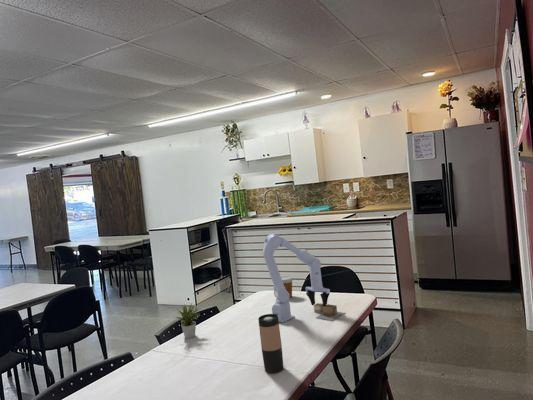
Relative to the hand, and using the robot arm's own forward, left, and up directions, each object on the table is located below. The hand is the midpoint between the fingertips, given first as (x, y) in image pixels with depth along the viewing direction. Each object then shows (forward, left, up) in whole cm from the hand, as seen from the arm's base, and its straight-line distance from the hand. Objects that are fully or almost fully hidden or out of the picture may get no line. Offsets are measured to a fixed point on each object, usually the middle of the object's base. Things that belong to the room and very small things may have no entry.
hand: (319, 305), depth 209 cm
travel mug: (-61, -23, -4) cm, 65 cm away
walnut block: (-3, -9, -3) cm, 10 cm away
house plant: (-57, +37, -4) cm, 68 cm away
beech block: (0, 0, -4) cm, 4 cm away
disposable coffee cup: (+14, +35, -4) cm, 38 cm away
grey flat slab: (-3, -9, -3) cm, 10 cm away
